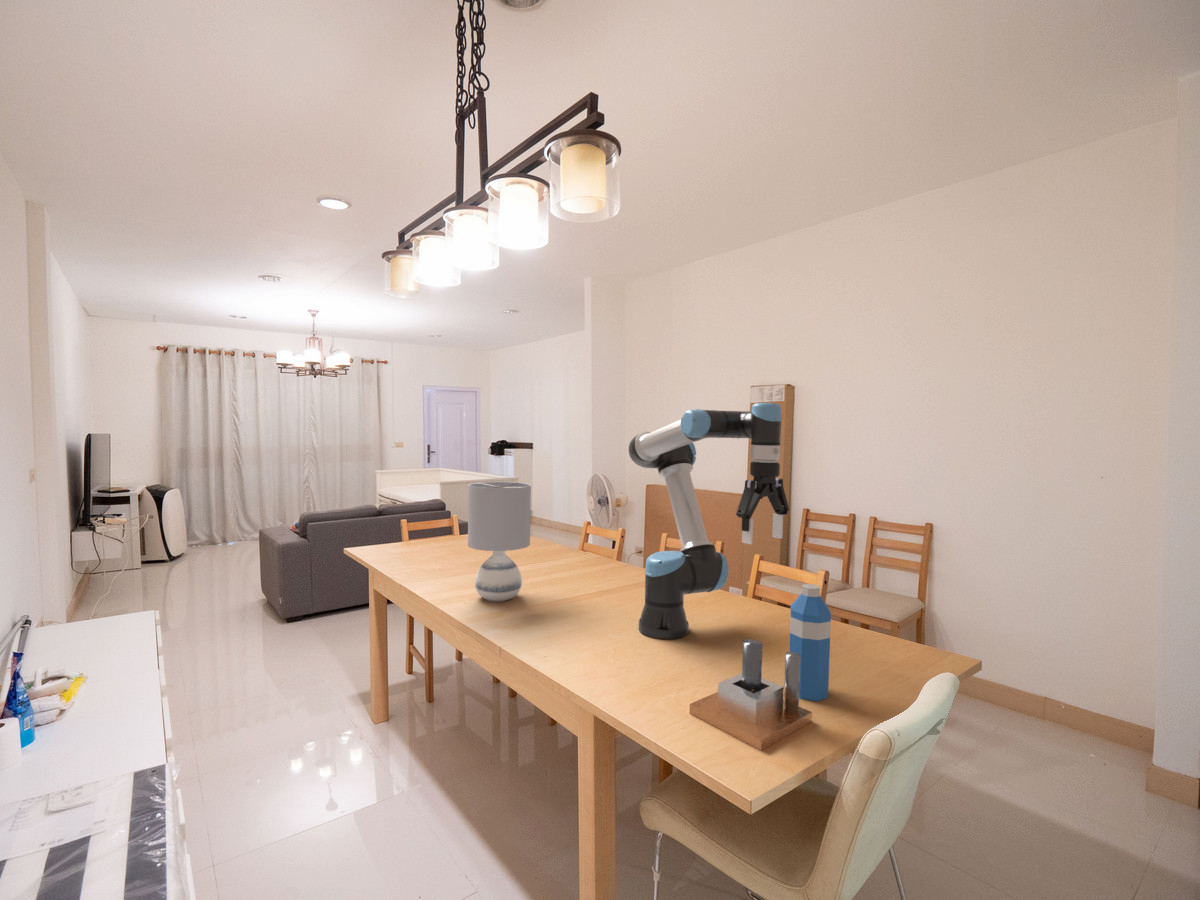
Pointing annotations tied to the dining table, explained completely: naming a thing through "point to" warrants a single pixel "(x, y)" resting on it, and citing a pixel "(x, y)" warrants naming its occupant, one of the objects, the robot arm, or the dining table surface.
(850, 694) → the dining table surface
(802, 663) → the water bottle
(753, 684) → the square metal peg
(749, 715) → the peg insertion fixture
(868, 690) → the dining table surface
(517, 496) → the lamp
